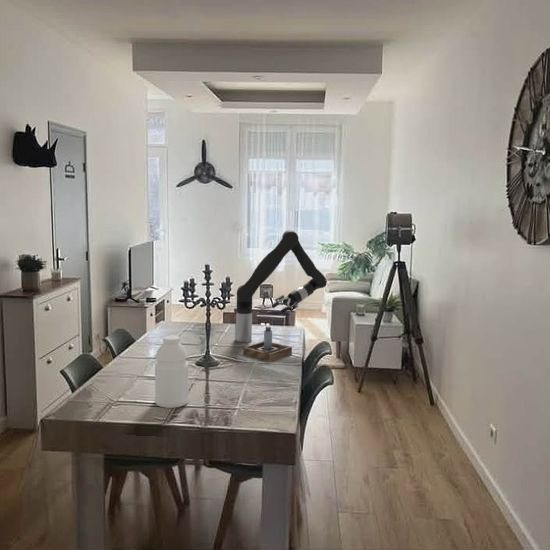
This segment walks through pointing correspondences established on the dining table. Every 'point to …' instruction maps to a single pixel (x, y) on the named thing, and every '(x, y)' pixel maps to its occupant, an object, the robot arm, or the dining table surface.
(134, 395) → the dining table surface
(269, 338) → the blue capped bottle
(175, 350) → the bottle
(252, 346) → the wooden box
